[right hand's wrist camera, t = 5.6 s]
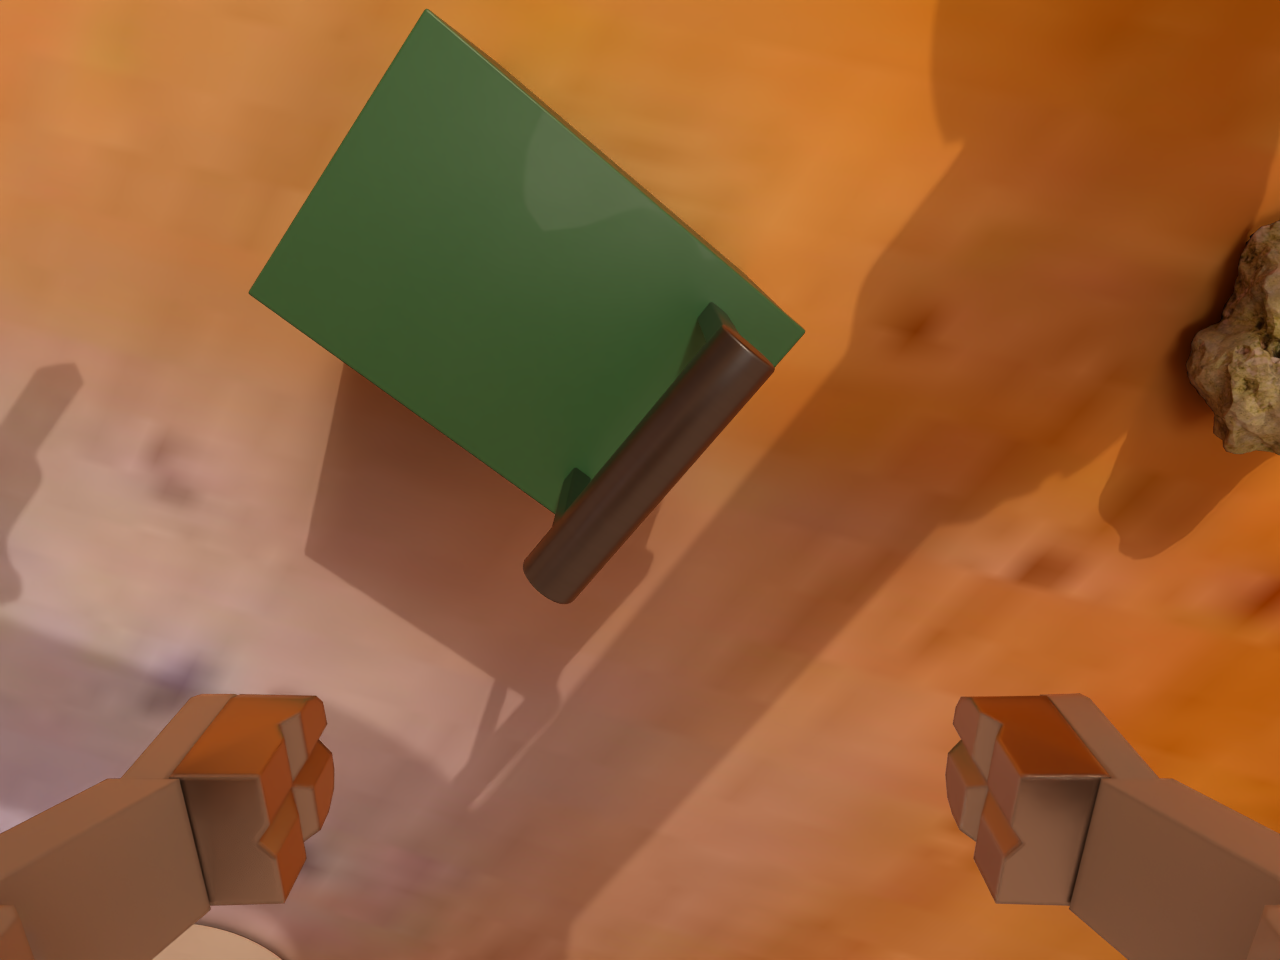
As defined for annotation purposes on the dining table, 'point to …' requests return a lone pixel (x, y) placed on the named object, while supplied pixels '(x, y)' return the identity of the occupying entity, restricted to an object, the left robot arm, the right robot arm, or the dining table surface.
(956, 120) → the dining table surface
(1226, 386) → the rock
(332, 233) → the lid
